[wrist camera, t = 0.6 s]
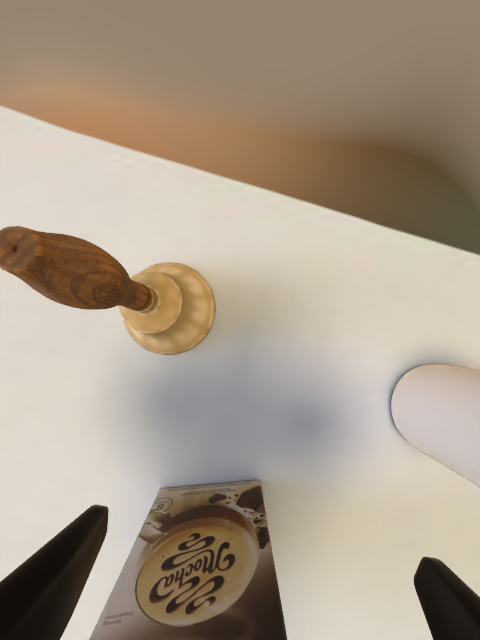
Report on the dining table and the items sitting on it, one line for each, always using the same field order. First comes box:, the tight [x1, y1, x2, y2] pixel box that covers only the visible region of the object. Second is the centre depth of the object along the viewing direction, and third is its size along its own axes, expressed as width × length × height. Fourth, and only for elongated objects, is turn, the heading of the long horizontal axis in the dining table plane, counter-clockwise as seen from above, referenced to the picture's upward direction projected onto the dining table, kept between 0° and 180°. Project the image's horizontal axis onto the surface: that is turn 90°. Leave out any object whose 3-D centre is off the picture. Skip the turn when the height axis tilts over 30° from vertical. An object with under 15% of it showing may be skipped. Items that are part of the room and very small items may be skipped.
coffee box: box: [89, 481, 287, 640], centre depth 14 cm, size 9×6×16 cm
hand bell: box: [0, 226, 215, 355], centre depth 15 cm, size 8×8×16 cm
